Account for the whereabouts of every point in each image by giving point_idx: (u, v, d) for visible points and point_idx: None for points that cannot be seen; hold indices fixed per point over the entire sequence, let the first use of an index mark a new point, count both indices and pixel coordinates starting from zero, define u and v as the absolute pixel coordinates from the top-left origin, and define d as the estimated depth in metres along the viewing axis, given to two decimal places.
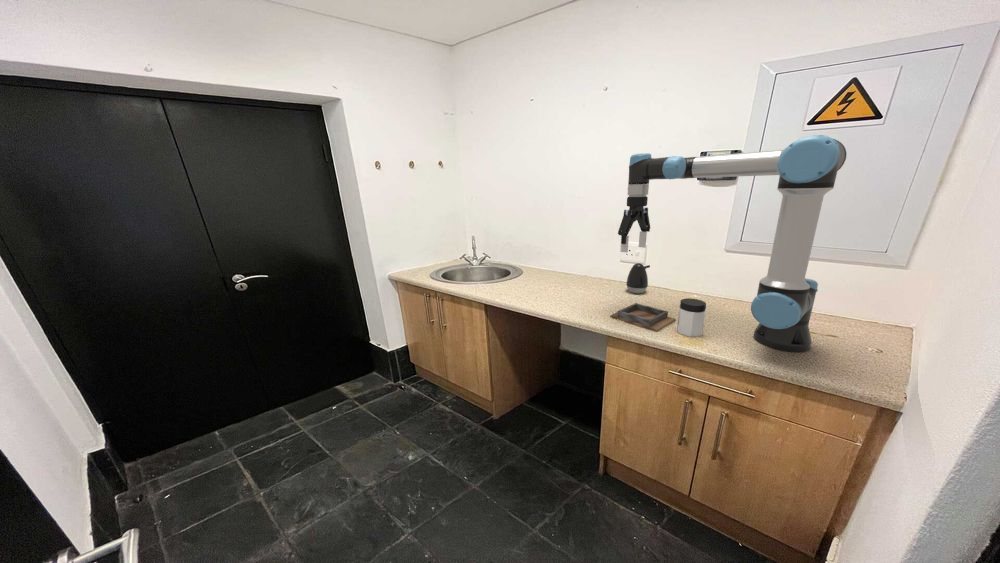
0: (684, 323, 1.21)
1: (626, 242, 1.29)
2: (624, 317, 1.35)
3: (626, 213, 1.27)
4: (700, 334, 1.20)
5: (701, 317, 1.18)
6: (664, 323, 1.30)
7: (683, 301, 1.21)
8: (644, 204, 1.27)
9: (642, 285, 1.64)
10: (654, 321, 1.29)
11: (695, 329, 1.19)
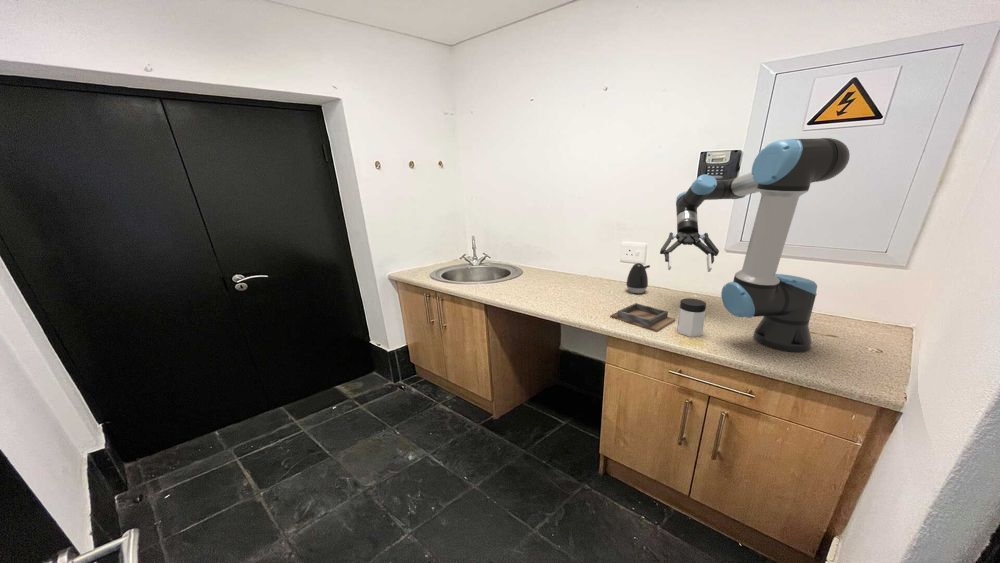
0: (684, 323, 1.21)
1: (668, 258, 1.31)
2: (624, 317, 1.35)
3: None
4: (700, 334, 1.20)
5: (701, 317, 1.18)
6: (664, 323, 1.30)
7: (683, 301, 1.21)
8: (687, 225, 1.33)
9: (642, 285, 1.64)
10: (654, 321, 1.29)
11: (695, 329, 1.19)
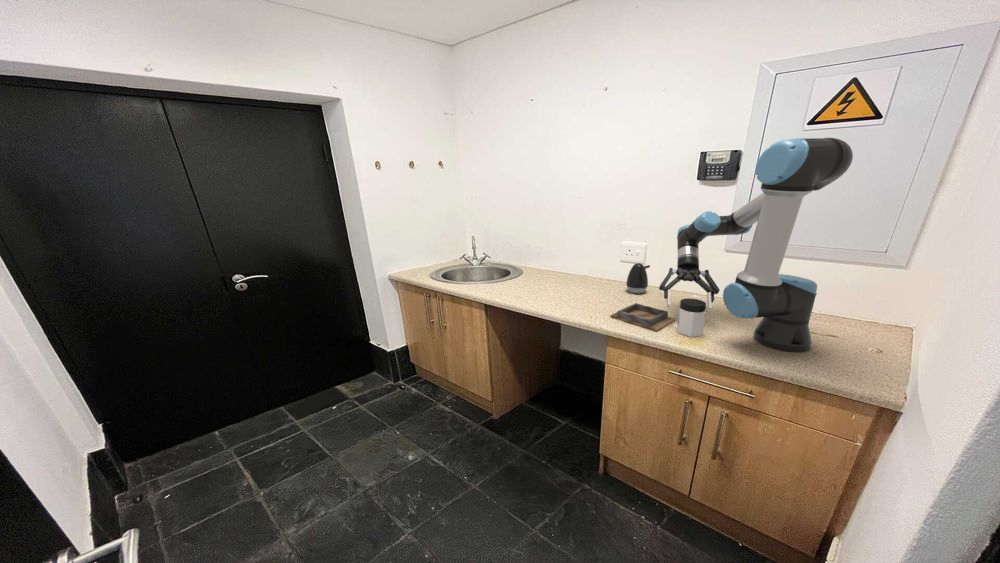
0: (684, 323, 1.21)
1: (667, 295, 1.28)
2: (624, 317, 1.35)
3: None
4: (700, 334, 1.20)
5: (701, 317, 1.18)
6: (664, 323, 1.30)
7: (683, 301, 1.21)
8: (687, 261, 1.30)
9: (642, 285, 1.64)
10: (654, 321, 1.29)
11: (695, 329, 1.19)
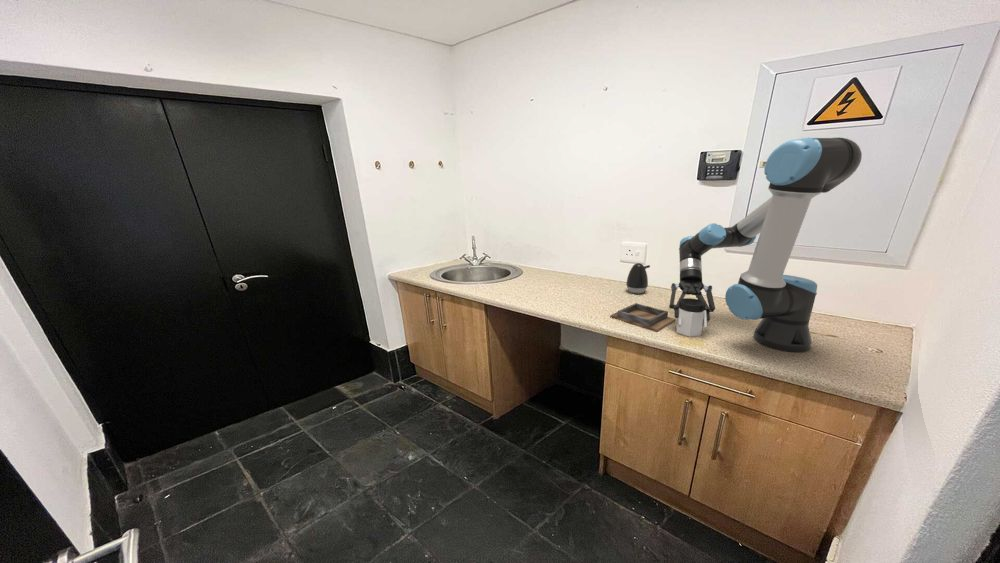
0: (683, 323, 1.21)
1: (678, 314, 1.22)
2: (624, 317, 1.35)
3: (671, 288, 1.29)
4: (699, 334, 1.20)
5: (700, 317, 1.18)
6: (664, 323, 1.30)
7: (682, 301, 1.21)
8: (690, 274, 1.26)
9: (642, 285, 1.64)
10: (654, 321, 1.29)
11: (694, 329, 1.19)
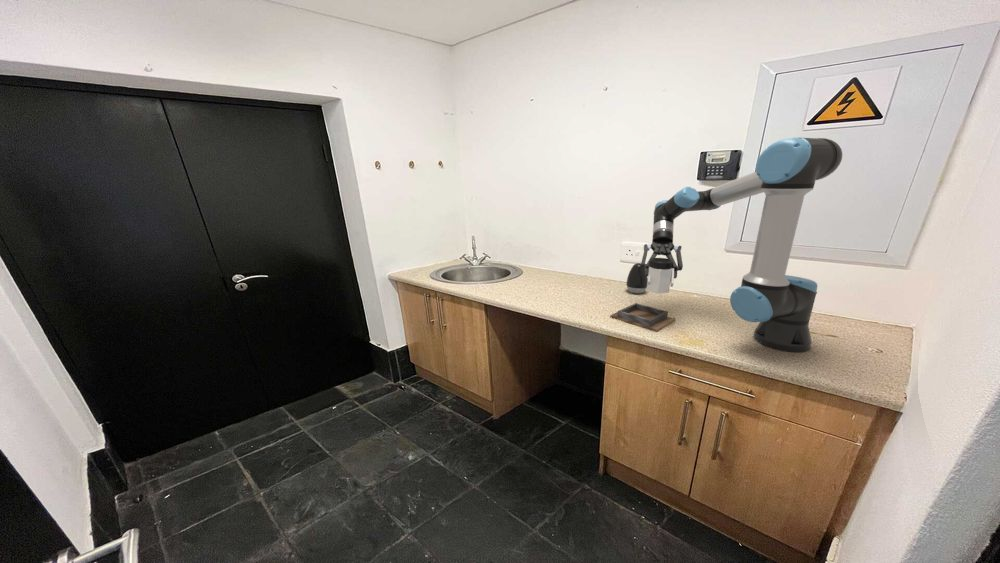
0: (652, 280, 1.27)
1: (648, 272, 1.29)
2: (624, 317, 1.35)
3: (644, 249, 1.35)
4: (667, 291, 1.27)
5: (668, 274, 1.25)
6: (664, 323, 1.30)
7: (652, 259, 1.28)
8: (661, 235, 1.32)
9: (642, 285, 1.64)
10: (654, 321, 1.29)
11: (662, 286, 1.26)
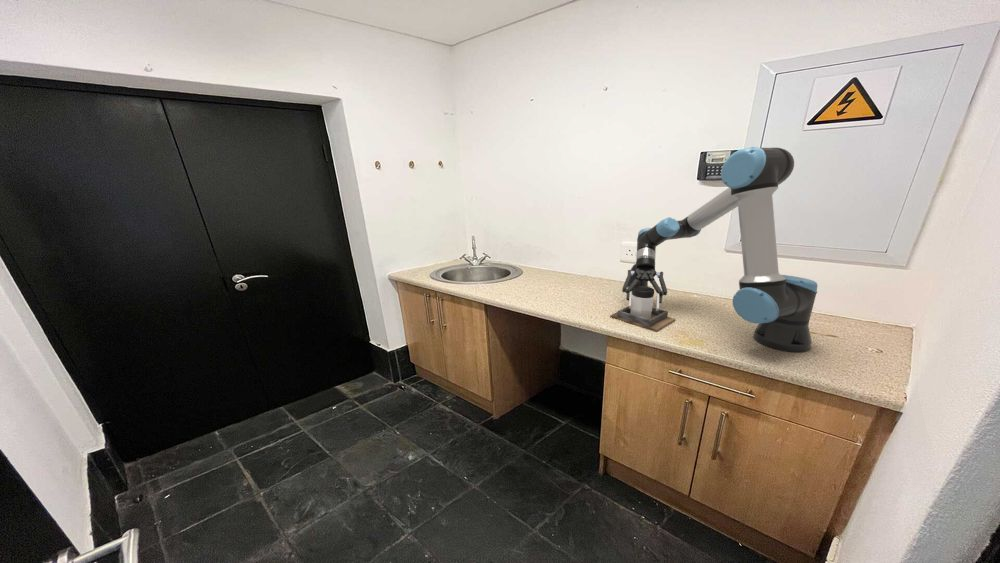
0: (634, 308, 1.34)
1: (629, 297, 1.35)
2: (624, 317, 1.35)
3: None
4: (649, 318, 1.33)
5: (649, 302, 1.31)
6: (664, 323, 1.30)
7: (634, 288, 1.35)
8: (643, 262, 1.38)
9: (642, 285, 1.64)
10: (654, 321, 1.29)
11: (644, 313, 1.33)
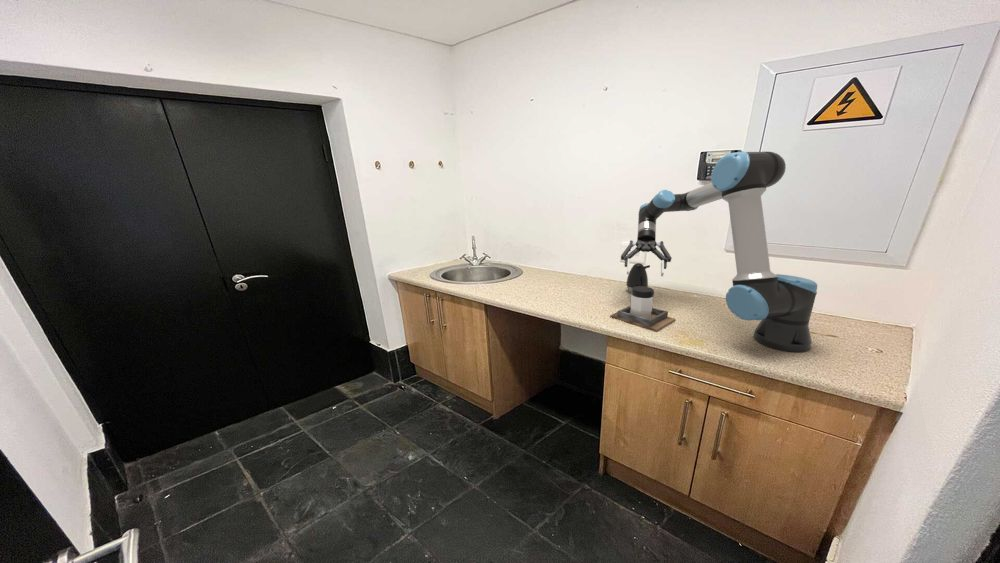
0: (634, 308, 1.34)
1: (627, 263, 1.45)
2: (624, 317, 1.35)
3: (629, 244, 1.51)
4: (649, 318, 1.33)
5: (649, 302, 1.31)
6: (664, 323, 1.30)
7: (634, 288, 1.35)
8: (645, 234, 1.47)
9: (642, 285, 1.64)
10: (654, 321, 1.29)
11: (644, 313, 1.33)
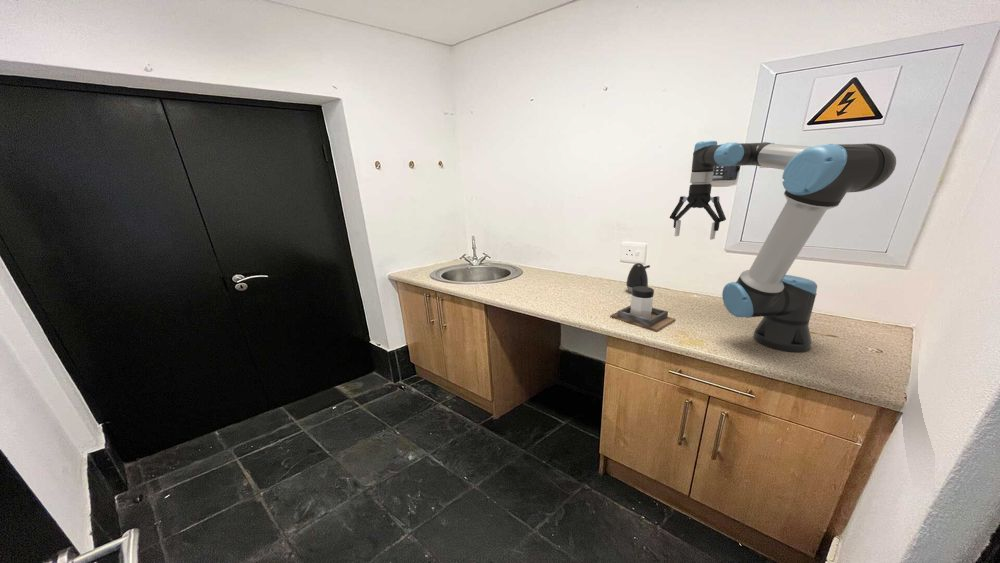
0: (634, 308, 1.34)
1: (675, 226, 1.40)
2: (624, 317, 1.35)
3: None
4: (649, 318, 1.33)
5: (649, 302, 1.31)
6: (664, 323, 1.30)
7: (634, 288, 1.35)
8: (693, 192, 1.30)
9: (642, 285, 1.64)
10: (654, 321, 1.29)
11: (644, 313, 1.33)
